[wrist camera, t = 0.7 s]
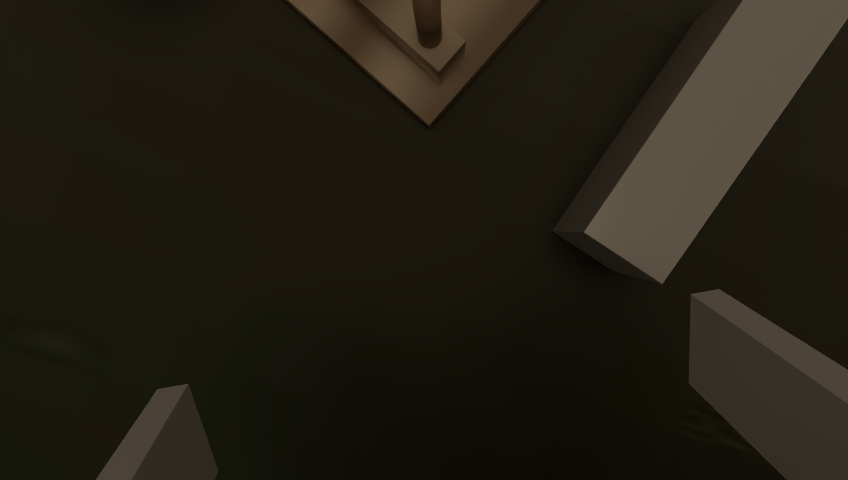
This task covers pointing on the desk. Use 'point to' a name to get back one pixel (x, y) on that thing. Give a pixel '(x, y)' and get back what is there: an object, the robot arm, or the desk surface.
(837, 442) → the robot arm
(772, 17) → the grey rectangular block
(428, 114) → the rack
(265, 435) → the desk surface
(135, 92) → the desk surface
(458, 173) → the desk surface
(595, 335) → the desk surface
